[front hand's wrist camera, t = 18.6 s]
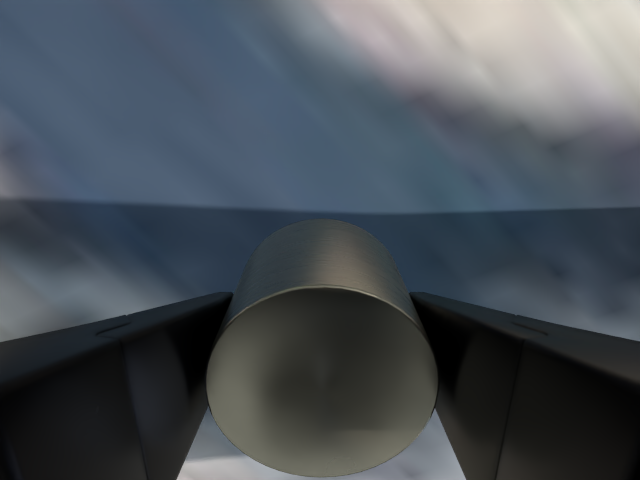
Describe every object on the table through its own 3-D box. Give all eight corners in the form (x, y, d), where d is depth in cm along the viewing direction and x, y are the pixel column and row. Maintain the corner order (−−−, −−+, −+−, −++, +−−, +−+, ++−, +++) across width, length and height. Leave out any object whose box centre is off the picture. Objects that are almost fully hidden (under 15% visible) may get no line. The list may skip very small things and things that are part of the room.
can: (219, 329, 13) (174, 438, 9) (276, 191, 11) (252, 246, 7) (358, 380, 13) (375, 502, 9) (429, 256, 12) (485, 339, 8)
